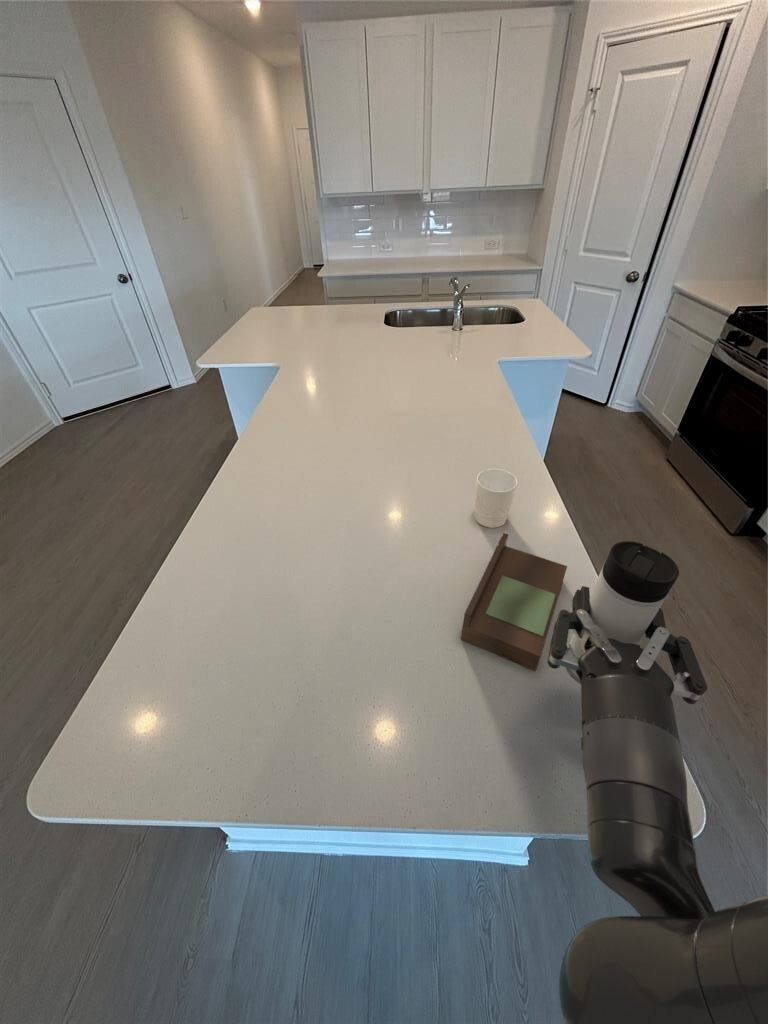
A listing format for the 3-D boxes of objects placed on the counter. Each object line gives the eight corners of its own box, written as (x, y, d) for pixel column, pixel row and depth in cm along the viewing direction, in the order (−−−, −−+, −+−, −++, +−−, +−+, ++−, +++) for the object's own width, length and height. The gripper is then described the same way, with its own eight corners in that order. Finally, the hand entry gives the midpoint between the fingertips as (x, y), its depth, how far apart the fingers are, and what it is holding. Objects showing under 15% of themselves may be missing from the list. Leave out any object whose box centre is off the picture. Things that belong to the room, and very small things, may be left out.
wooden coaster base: (561, 580, 80) (571, 554, 75) (535, 670, 67) (544, 645, 62) (497, 559, 84) (503, 532, 80) (460, 639, 71) (464, 613, 67)
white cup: (511, 510, 95) (520, 472, 89) (506, 533, 90) (514, 495, 83) (475, 502, 97) (481, 465, 91) (467, 525, 92) (473, 487, 85)
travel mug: (553, 670, 55) (600, 560, 42) (575, 637, 59) (625, 526, 46) (603, 703, 52) (670, 593, 39) (623, 665, 56) (691, 554, 43)
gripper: (748, 753, 34) (701, 590, 46) (552, 699, 37) (556, 561, 49) (704, 788, 39) (672, 632, 51) (534, 738, 42) (542, 603, 54)
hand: (615, 598), depth 50 cm, fingers closed on travel mug, 6 cm apart
